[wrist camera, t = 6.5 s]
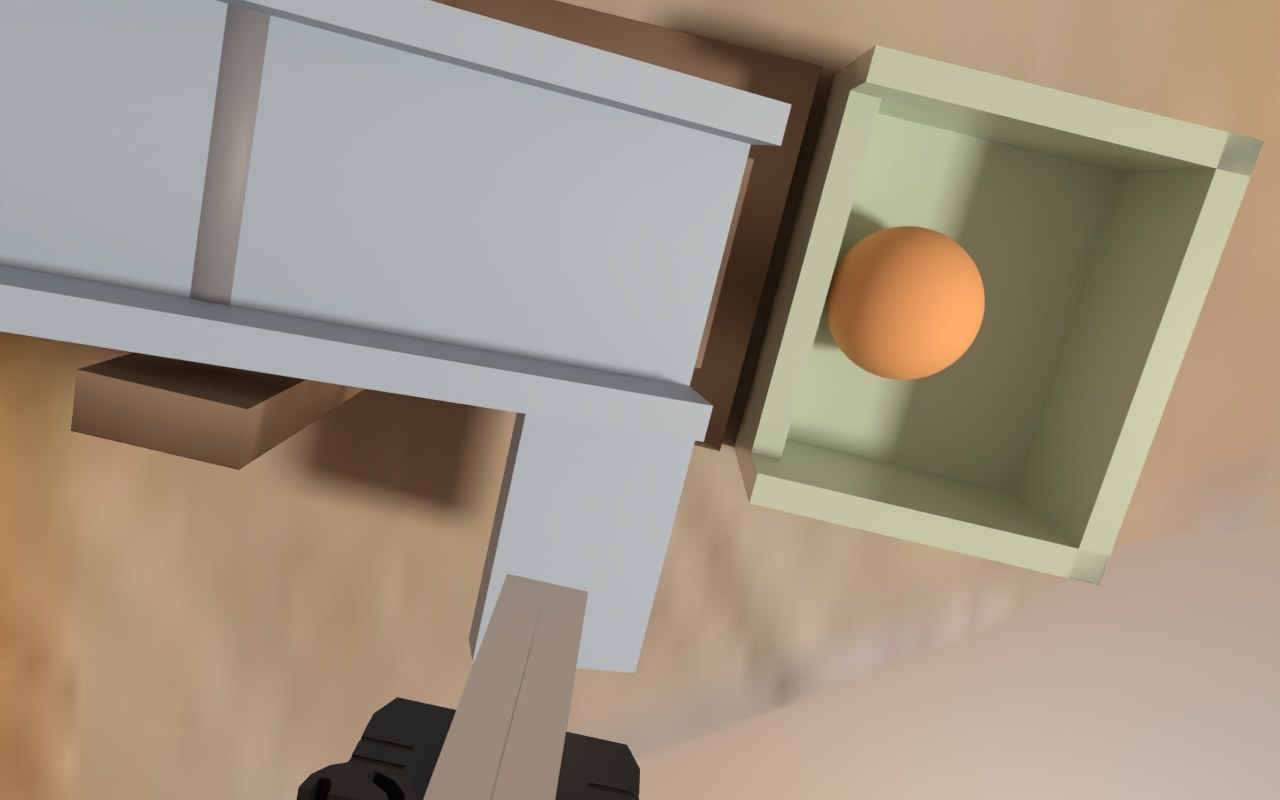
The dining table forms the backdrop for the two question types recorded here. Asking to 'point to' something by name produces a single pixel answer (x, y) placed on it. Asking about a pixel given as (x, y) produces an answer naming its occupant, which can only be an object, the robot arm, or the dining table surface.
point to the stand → (281, 406)
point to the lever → (395, 237)
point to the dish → (993, 312)
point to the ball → (905, 302)
